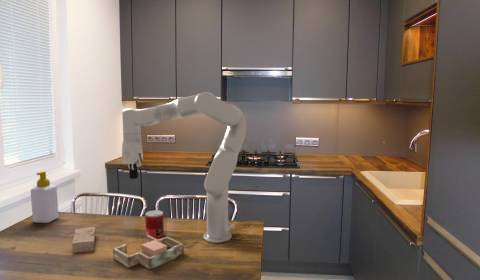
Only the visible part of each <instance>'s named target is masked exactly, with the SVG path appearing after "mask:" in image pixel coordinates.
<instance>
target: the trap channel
mask: <svg viewBox="0 0 480 280" xmlns="http://www.w3.org/2000/svg"><path fill="white" fill-rule="evenodd" d="M145 236H146V235H145ZM153 240H156V241H158V242H160V243H162V244H164V245H166V246H167V250H166V251H164V252H162V253H159V254H157V255H154V256H152V257H149V256H147V255H145V254H143V253H142V251H137V252H135V253H133V254H130V255H129V254H128V244H126V243H122V244H121V245H120V246H117V247H114V248H113V249H112V257H113V259H114V260H116V261H117V262H119V263H120V264H121V265H123V266H125V267H126V268H131V267H133V266H136V265H138V264H140V265H141V266H143V267H145V268H147V269H148V270H152V269H154V268H157V267H158V266H161V265H164V264H166V263H168V262H170V261H172V260H175V259H177V258H178V256H180V255H183V254H184V253H185V244H184V243H183V242H180V241H178V240H176V239H173V238H171V237H169V236H163V237H162V238H160V239H156V238H153V237H151V236H149V235H148V236H146V243H148V242H151V241H153Z"/></svg>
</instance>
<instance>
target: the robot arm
mask: <svg viewBox="0 0 480 280" xmlns="http://www.w3.org/2000/svg"><path fill="white" fill-rule="evenodd" d="M201 114H203V115H204V116H206V117H208V118H210V119H212V120H214V121H216V122H218V123H220V124H221V125H223V126H225V127H226V126H227V127H226V130H225V133H224V136H223V139H222V141H221V144H220V145H219V148H218V150H217V151H216V153H215V155H214V157H213V160H212V162H211V164H210V167H209V169H208V172H207V174H206V177H205V178H204V183H203V185H204V189H205V191H206V231H205V232H204V233H203V236H202V238H203V239H204V240H205V241H206V242H208V243H214V244H216V243H217V244H218V243H219V244H220V243H221V244H222V243H225V242H228V241H230V240H231V239H232V233H231V232H230V231H231V230H234V229H235V228H236V225H235V224H230V225H229V183H230V181H231V178H232V176H233V174H234V172H235V169H236V166H237V163H238V156H239V153H240V151H241V149H242V145H243V142H244V140H245V138H246V134H247V128H248V127H247V126H248V125H247V119H246V118H245V115H244V113H243V112H242V110H241V109H240V108H239V107H238V106H237V105H235V104H229V103H227V102H225V101H223V100H221V99H220V98H218V97H217V96H215V95H214V94H213V93H212V92H209V91H202V92H200V93H196V94H193V95H189V96H185V97H181V98H177V99H175V100H173V101H171V102H169V103H165V104H161V105H156V106H152V107H147V108H140V109H139V108H130V107H129V108H124V109H122V112H121V115H122V134H123V135H122V137H123V138H122V145H121V148H122V149H121V161H122V162H123V163H125V164H126V165H127V166H128V171H129V175H128V176H129V179H131V180H134V179H138V178H139V171H138V170H139V167H142V163H143V162H144V151H143V142H142V126H144V127H151V126H153V125H157V124H160V123H164V122H168V121H171V120H178V119H179V120H182V119H186V118H190V117H195V116H196V115H201Z"/></svg>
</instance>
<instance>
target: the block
mask: <svg viewBox="0 0 480 280" xmlns="http://www.w3.org/2000/svg"><path fill="white" fill-rule="evenodd" d="M166 250H167V246H166V245H164V244H162V243H160V242H158V241H156V240H153V241H151V242H148V243H147V242H145V243H143V244H141V253H143V254H145V255H147V256H149V257H152V256H154V255H157V254H159V253H162V252H164V251H166Z"/></svg>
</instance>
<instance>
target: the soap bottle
mask: <svg viewBox="0 0 480 280" xmlns="http://www.w3.org/2000/svg"><path fill="white" fill-rule="evenodd" d="M36 175H37V176H39V178H38V179H37V181H36V186H34V187H32V188H31V189H30V201H31V212H32V213H31V214H32V222H33V223H37V224H38V223H40V224H41V223H42V224H49V223H51V222H52V221H55V220H56V219H59V217H60V216H59V204H58V188H57V185H55V184H51V181H50V179H49V178H47V173H46V171H45V170H42V171H39V172H36Z"/></svg>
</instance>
